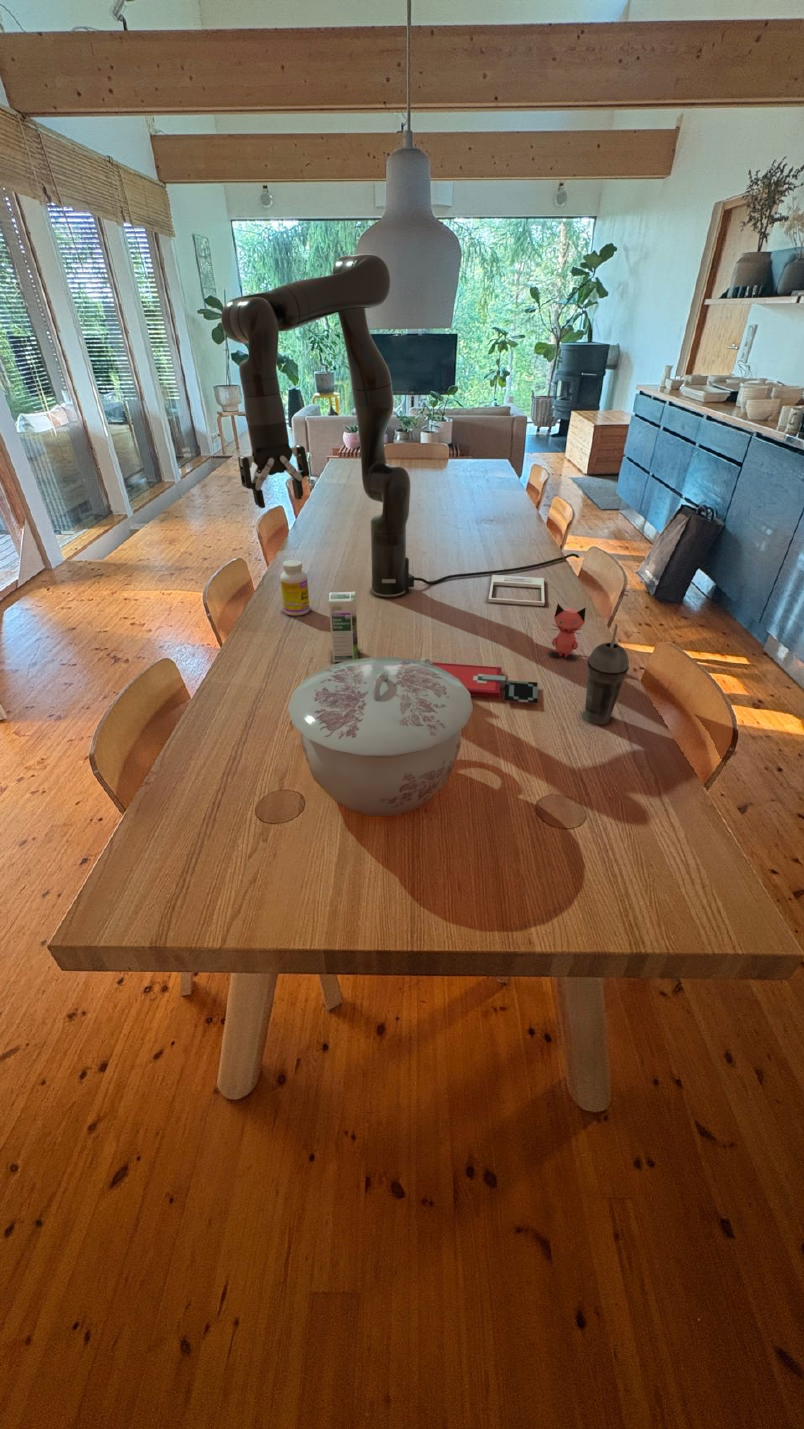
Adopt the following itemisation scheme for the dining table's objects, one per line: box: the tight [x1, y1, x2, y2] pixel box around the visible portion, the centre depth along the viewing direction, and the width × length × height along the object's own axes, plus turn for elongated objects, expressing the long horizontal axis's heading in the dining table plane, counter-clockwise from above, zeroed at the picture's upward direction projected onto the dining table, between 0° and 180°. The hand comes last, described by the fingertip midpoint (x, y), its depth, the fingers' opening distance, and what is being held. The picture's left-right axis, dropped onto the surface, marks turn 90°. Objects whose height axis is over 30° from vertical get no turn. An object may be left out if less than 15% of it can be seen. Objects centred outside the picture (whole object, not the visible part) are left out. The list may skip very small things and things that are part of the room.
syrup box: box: [328, 590, 359, 663], centre depth 136 cm, size 6×6×14 cm
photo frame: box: [487, 574, 546, 607], centre depth 171 cm, size 15×1×18 cm
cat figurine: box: [551, 603, 587, 661], centre depth 137 cm, size 7×7×12 cm
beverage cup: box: [584, 623, 630, 725], centre depth 113 cm, size 7×7×20 cm
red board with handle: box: [431, 661, 539, 704], centre depth 128 cm, size 30×3×15 cm
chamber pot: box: [287, 656, 474, 818], centre depth 96 cm, size 28×28×21 cm
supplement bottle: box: [279, 559, 310, 617], centre depth 157 cm, size 7×7×13 cm
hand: (280, 503), depth 131 cm, fingers open, 8 cm apart
